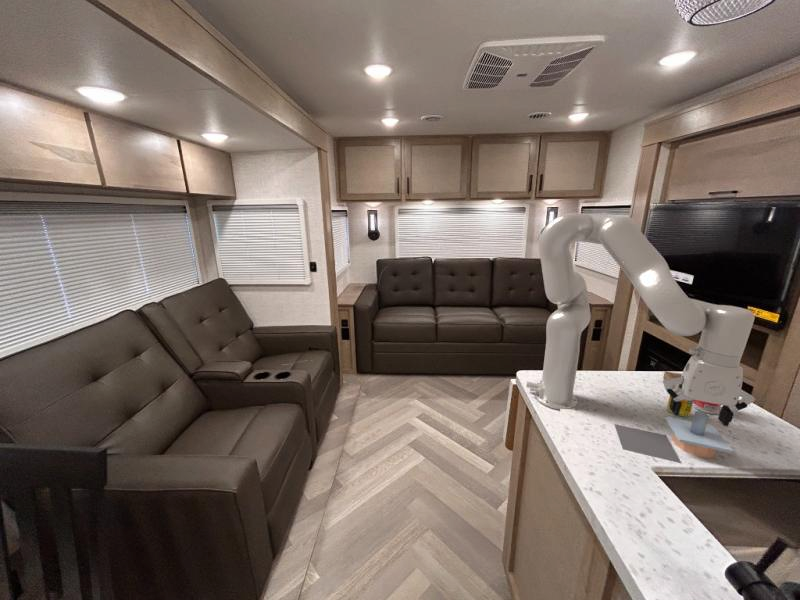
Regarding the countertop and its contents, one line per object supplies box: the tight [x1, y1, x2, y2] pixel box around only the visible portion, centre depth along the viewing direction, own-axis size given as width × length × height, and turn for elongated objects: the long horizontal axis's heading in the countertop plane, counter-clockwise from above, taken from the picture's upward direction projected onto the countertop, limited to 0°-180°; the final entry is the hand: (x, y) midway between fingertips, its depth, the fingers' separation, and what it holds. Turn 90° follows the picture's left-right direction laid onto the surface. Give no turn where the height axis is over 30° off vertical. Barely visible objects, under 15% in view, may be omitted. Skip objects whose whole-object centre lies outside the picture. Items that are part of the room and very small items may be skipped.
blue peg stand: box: [664, 410, 734, 454], centre depth 79 cm, size 10×10×6 cm
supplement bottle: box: [666, 385, 694, 418], centre depth 94 cm, size 5×5×10 cm
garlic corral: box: [662, 370, 682, 390], centre depth 109 cm, size 11×11×3 cm
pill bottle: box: [692, 400, 722, 415], centre depth 97 cm, size 6×6×11 cm
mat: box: [614, 423, 682, 464], centre depth 83 cm, size 12×11×1 cm
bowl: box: [672, 433, 717, 459], centre depth 81 cm, size 8×8×4 cm
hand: (697, 417), depth 79 cm, fingers open, 9 cm apart
